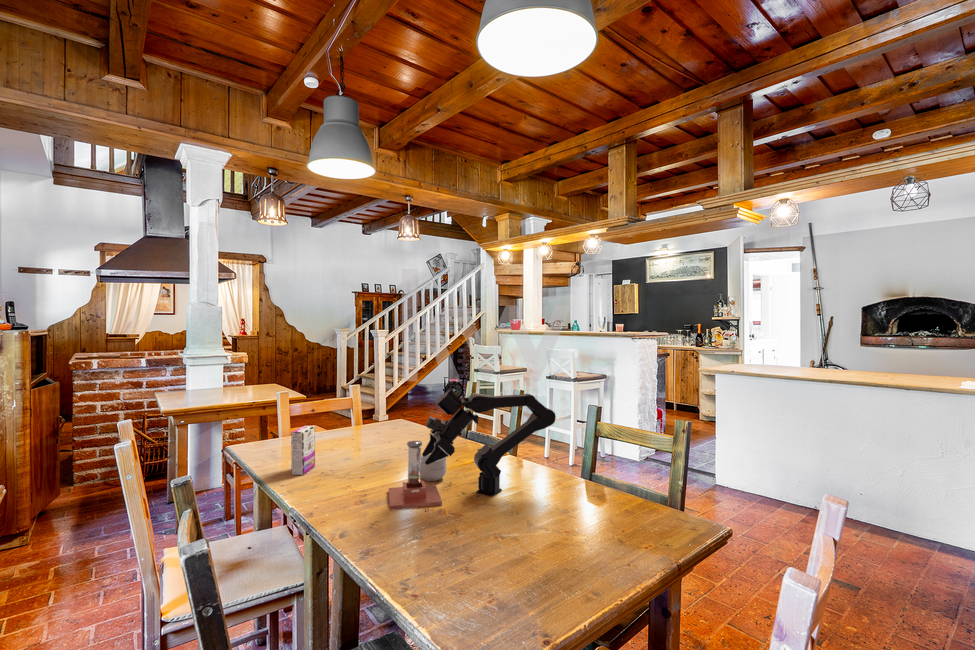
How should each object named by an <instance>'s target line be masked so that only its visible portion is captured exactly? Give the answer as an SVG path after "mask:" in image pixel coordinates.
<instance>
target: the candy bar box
mask: <svg viewBox="0 0 975 650" xmlns="http://www.w3.org/2000/svg"><path fill="white" fill-rule="evenodd" d="M315 427H316V426H315V425H303V426H301V427H299V428H297V429H295V430H293V431H292V432H290V433H291V434H290V435H291V436H290V437H291V438H290V439H291V442H290V445H291V446H290V447H291V476H304V475H306V474H307V473H308V472H310V471H311V470H312V469H314V467H316V435H315V434H316V430H315V429H316V428H315Z"/></svg>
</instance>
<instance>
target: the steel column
mask: <svg viewBox="0 0 975 650" xmlns="http://www.w3.org/2000/svg"><path fill="white" fill-rule="evenodd" d="M422 445H423V442H422V441H421V440H410V441H407V443H406V446H407V449H408V452H407V453H408V454H407V455H408V459H407V461H408V463H407V467H408V468H407V470H408V471H407V480H408V481H407V482H408V483H409V484H419V483H420V482H421V481H422V480H421V479H422V478H421V456H422V453H421V451H422V449H421V447H422Z"/></svg>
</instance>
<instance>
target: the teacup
mask: <svg viewBox="0 0 975 650" xmlns="http://www.w3.org/2000/svg"><path fill="white" fill-rule="evenodd" d="M430 454H431V453H430ZM430 454H428V455H427V456H425V457H423V456H422V455H421V479H423V481H427V482H435V481H440V480H441V479H442V478H443V477H444V476H445V475H446V473H447V457H445V458H442V459H440V460H437V461H435V462H433V463H430V464H428V465H426V464H425V461H426V460H427V458H428V457H429V455H430Z"/></svg>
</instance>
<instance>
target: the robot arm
mask: <svg viewBox="0 0 975 650" xmlns="http://www.w3.org/2000/svg"><path fill="white" fill-rule="evenodd" d="M435 405H436V406H437V407H438V408H439V409H440V410H442V411H443V413H444V414H445V415H446V416H450V415H451V416H452V417H451V418H450V419H445V421H442V419H439V418H437V417H433V416H430V415H429V416H428V418H427V420H426V423H425V426H426V428H427V429H430V432H429V441H428V442H427V445H426V447H425V449H424V450H423V452H422V453H421V456H423V457H425V456H427V455H429V454H430V455H429V457H428V458H427V460H426V461H425V464H426V465H428V464H430V463H433V462H435V461H437V460H440V459H442V458H445V457H446V458H448V457H449V456H450V457H452V455H453V454H454V453H455V452H456V451H455V446H454V445H453V444H454V442H455V440H456V439H457V437H459V436H460V437H461V436H462V435H463V433H462V432H463V431H464V430H465V429H466V428H467V427H468V425H470V424H471V423H472V422H474V423H475V424H476V425H478V424H479V415H478V414H481V413H485V412H488V411H491V410H494V409H499V408H501V409H502V408H516V407H517V408H519V407H527V409H529V411H530V412H531V414H530V415H529V417H528V418H527V420H526V421H525V422H523V423H522V424H521V425H520V426H518V427H516V428H515V430H513V431H511V432H510V433H508V434H507V435H506V436H505V437H503V438H502V439H500V440H499V441H498V442H496V443H495V444H493V445H489V444H488V443H485V444H484V445H483V446H481V448H479V449H477V452H476V453H475V454H474V456H473V461H474V464H475V466H476V467H477V468H478V469H479V471H480V472H479V474H478V475H479V476H478V477H477V478H478V479H477V481H478V485H477V487H478V488H477V490H476V493H477V494H482V495H487V496H491V497H494V496H496V495H498V493H500V492H502V490H503V489H502V488H500V481H501V479H500V477H501V472H502V470H501V469H500V468H499V467H498V464H499V462H500V461H501V459H502V458H503V457H504V455H506V454H507V453H508V452H510V451H511V450H513V449H514V448H515V447H517V446H518V445H519V444H520V443H522V442H523V441H524V440H526V439H527V438H528V437H530V436H531V435H532V434H534V433H535V432H538V431H542V430H544V429H546V428H549V427H551V426H552V425H554V423H555V422H556V418H557V417H556V413H555V412H554V411H553V410H552V409H550V408H548V407H546V406H545V405H543V404H542V403H541V402H540V401H539V400H538V399H537V398H535V396H534V395H532V394H530V393H524V394H523V393H522V394H509V395H508V394H506V395H505V394H504V395H488V394H482V393H472V394H470V395H469V396H468V397H464V398H459V397H458V396H457V395H456V394H455V393H454V391H453V390H452V389H448V391H446V392H444V393H443V394H441V395H440V396H439V397H438V398H437V400H436V402H435ZM462 406H463V407H464V408H465V409H466V410H465V409H464V408H463V407H462ZM473 412H474V413H476V414H474V413H473Z"/></svg>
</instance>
